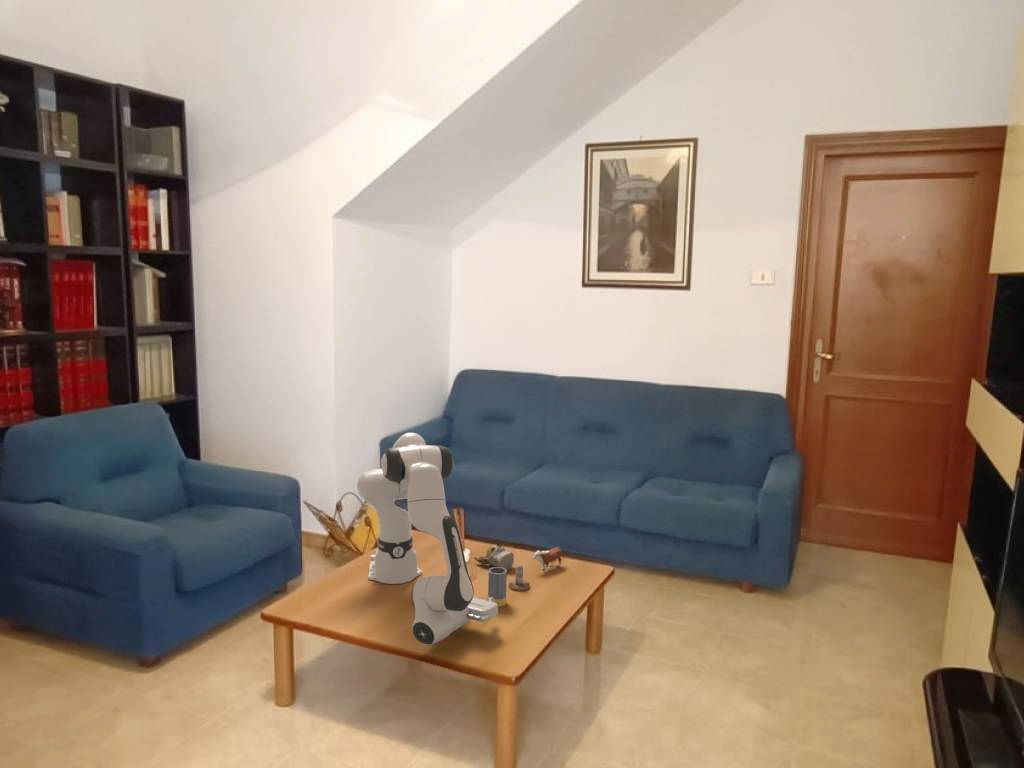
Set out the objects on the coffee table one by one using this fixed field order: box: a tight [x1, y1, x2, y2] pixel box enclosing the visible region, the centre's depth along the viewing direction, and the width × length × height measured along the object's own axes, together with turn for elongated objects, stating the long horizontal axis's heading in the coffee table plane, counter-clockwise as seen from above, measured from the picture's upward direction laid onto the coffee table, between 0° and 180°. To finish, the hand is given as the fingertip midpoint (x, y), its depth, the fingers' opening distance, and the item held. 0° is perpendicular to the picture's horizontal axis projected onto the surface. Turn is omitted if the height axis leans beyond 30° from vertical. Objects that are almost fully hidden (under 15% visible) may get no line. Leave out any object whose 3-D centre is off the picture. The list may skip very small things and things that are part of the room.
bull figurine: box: [532, 546, 562, 574], centre depth 278 cm, size 4×13×8 cm, turn 132°
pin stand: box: [508, 564, 530, 592], centre depth 262 cm, size 7×7×8 cm
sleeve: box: [487, 566, 508, 608], centre depth 249 cm, size 6×6×11 cm
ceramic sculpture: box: [473, 543, 515, 571], centre depth 280 cm, size 11×9×15 cm
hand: (478, 596), depth 238 cm, fingers open, 8 cm apart
